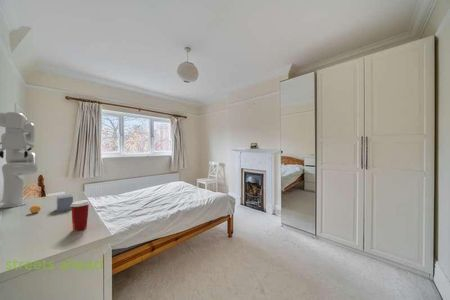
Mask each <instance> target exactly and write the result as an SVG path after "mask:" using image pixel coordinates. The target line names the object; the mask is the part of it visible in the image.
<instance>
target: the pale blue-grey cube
mask: <svg viewBox="0 0 450 300" xmlns="http://www.w3.org/2000/svg"><path fill="white" fill-rule="evenodd" d="M73 200H74V196H73V195H72V194H67V195H66V194H65V195H59V196H56V212H57V213H59V212H64V211H65V210H66V211H70V210H71V211H72V208H71V204H72V203H73V202H74V201H73Z"/></svg>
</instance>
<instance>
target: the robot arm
mask: <svg viewBox="0 0 450 300" xmlns="http://www.w3.org/2000/svg"><path fill="white" fill-rule="evenodd" d="M0 127H3V128H5V130H4V131H5V132H4V133H2V134H1V135H0V146H1V148H0V158H1V159H4V156H5V164H3V165H2V166H1V172H2V179H3V202H2V204H1V205H0V208H1V209H8V208H9V209H10V208H15V207H20V206H24V205H26V204H27V201H24V188H25V187H24V183H25V182H24V180H23V178H21V177H20V176H28V175H29V176H30V175H36V173H37V172H38V158H37V155H36V153H34V152H31V150H32V149H33V148H34V147H35V145H34V144H33V143H34V141H35V132H36V128H35V124H34V123H32V122H31V121H29V122H28V118H27V117H26V115H24V114H23V113H21V112H14V111H8V112H0ZM27 146H29V147H28V148H27ZM4 150H5V152H4ZM23 151H24V152H23ZM4 153H5V155H4Z"/></svg>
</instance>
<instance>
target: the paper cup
mask: <svg viewBox="0 0 450 300" xmlns="http://www.w3.org/2000/svg"><path fill="white" fill-rule="evenodd" d="M89 205H90V201H89V200H87V199H83V200H77V201H73V203H72V204H71V208H72V209H71V220H72V221H71V222H72V223H71V224H72V231H73V232H81V231H83V230H86V229H87V228H88V217H89V207H90V206H89Z"/></svg>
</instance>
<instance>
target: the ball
mask: <svg viewBox="0 0 450 300" xmlns="http://www.w3.org/2000/svg"><path fill="white" fill-rule="evenodd" d="M41 209H42V207H41V205H38V204H34V205H32V206H30V208H29V212H30V213H31V214H36V213H39V212H40V211H41Z"/></svg>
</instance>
